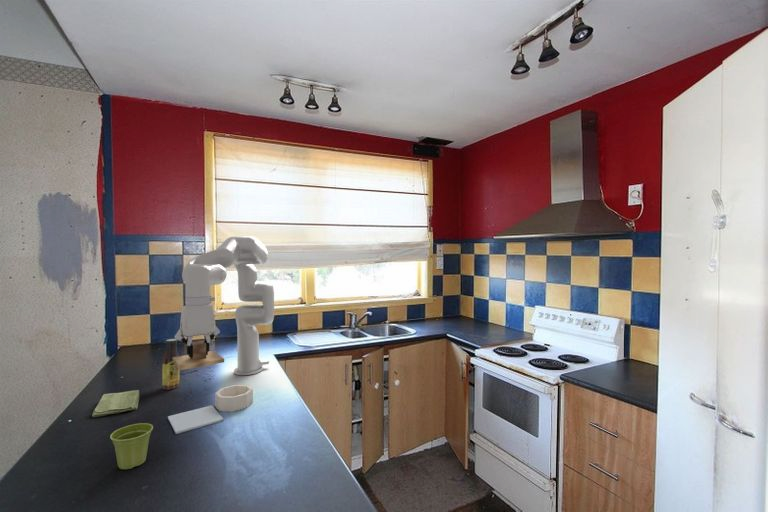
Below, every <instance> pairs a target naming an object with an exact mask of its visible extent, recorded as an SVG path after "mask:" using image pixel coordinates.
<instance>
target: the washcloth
mask: <svg viewBox="0 0 768 512" xmlns="http://www.w3.org/2000/svg"><path fill="white" fill-rule="evenodd" d="M139 401H140V390H138V389H137V390H135V389H134V390H129V391H123V392H112V393H111V392H110V393H104V394H103V395H102V396H101V397H100V399H99V401H98V403H97V405H96V407H95V408H94V409H93V412H92V414H91V416H92V418H98V417H105V416H108V415H116V414H120V413H123V412H125V413H126V412H130V411H136V410H137V409H138V407H139Z"/></svg>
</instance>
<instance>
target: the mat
mask: <svg viewBox="0 0 768 512" xmlns="http://www.w3.org/2000/svg"><path fill="white" fill-rule="evenodd" d="M167 420H168V421H169V423H170V425H171V428H172V429H173V431H174V434H175V435H178V434H182V433H185V432H188V431H192V430H195V429H199V428H202V427H206V426H209V425H212V424H213V425H214V424H215V423H221V422H222V421H224V418H223V416H222V415H221V414H220V413H219V411H217V408H216V407H214V406H213V405H211V404H210V405H207V406H204V407H200V408H195V409H191V410H188V411H183V412H180V413H175V414H172V415H169V416H168V415H167Z"/></svg>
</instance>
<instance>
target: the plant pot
mask: <svg viewBox="0 0 768 512" xmlns="http://www.w3.org/2000/svg"><path fill="white" fill-rule="evenodd" d="M153 430H154V426H153V424H150V423H147V422H145V423H144V422H143V423H141V422H140V423H134V424H130V425H129V424H128V425H126V426H123V427H120V428H118V429H115V430H114V431H113V432H112V433H111V434H110V436H109V438H110V440H111V441H112V444H113V445H114V451H115V455H116V456H115V457H116V462H117V467H118V468H119V469H120V470H130V469H131V470H132V469H133V468H134V467H138V466H140V465H143V464H144V463H145V462H146V459H147V454H148V447H149V443H150V442H149V441H150V436H151V434H152V431H153Z"/></svg>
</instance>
